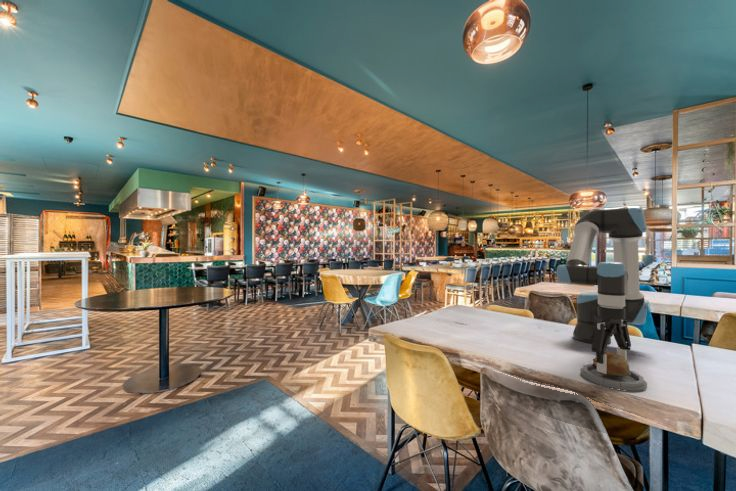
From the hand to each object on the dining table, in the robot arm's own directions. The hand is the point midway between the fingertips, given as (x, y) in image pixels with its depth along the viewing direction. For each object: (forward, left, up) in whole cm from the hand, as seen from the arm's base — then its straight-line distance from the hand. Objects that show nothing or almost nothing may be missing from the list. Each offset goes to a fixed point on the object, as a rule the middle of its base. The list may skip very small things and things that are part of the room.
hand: (611, 369), depth 105 cm
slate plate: (0, 0, -3) cm, 3 cm away
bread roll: (0, 0, -1) cm, 1 cm away
